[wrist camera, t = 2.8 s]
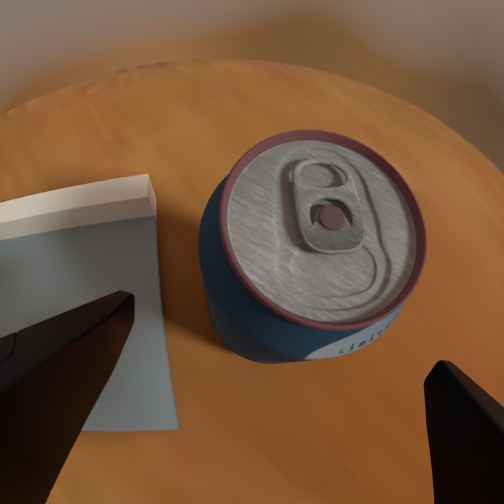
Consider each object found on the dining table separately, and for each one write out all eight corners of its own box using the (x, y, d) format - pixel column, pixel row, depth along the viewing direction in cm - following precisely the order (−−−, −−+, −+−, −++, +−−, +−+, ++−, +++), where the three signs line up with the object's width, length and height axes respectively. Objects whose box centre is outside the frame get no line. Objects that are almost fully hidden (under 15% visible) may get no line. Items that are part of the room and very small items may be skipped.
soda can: (329, 357, 18) (464, 332, 7) (212, 367, 18) (196, 368, 6) (316, 249, 21) (406, 125, 9) (207, 253, 20) (196, 112, 9)
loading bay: (179, 427, 16) (171, 437, 13) (3, 420, 14) (-23, 424, 11) (156, 198, 21) (147, 173, 18) (2, 225, 19) (-18, 207, 16)
